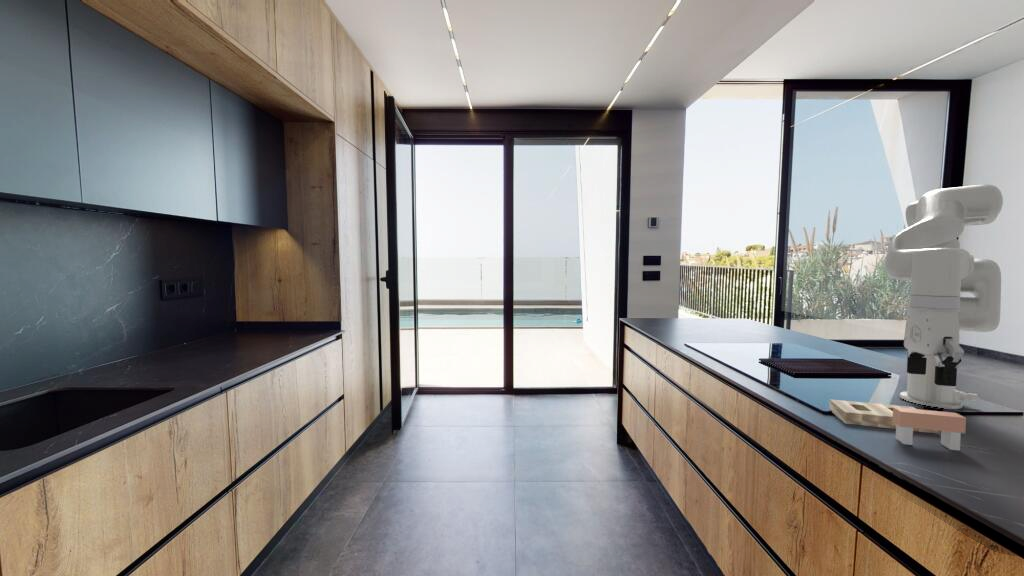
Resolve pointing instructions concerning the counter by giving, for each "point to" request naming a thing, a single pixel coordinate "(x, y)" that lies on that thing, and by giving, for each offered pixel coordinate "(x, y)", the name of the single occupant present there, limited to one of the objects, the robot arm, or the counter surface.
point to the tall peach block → (929, 425)
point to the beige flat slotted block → (867, 414)
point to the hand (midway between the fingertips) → (929, 379)
